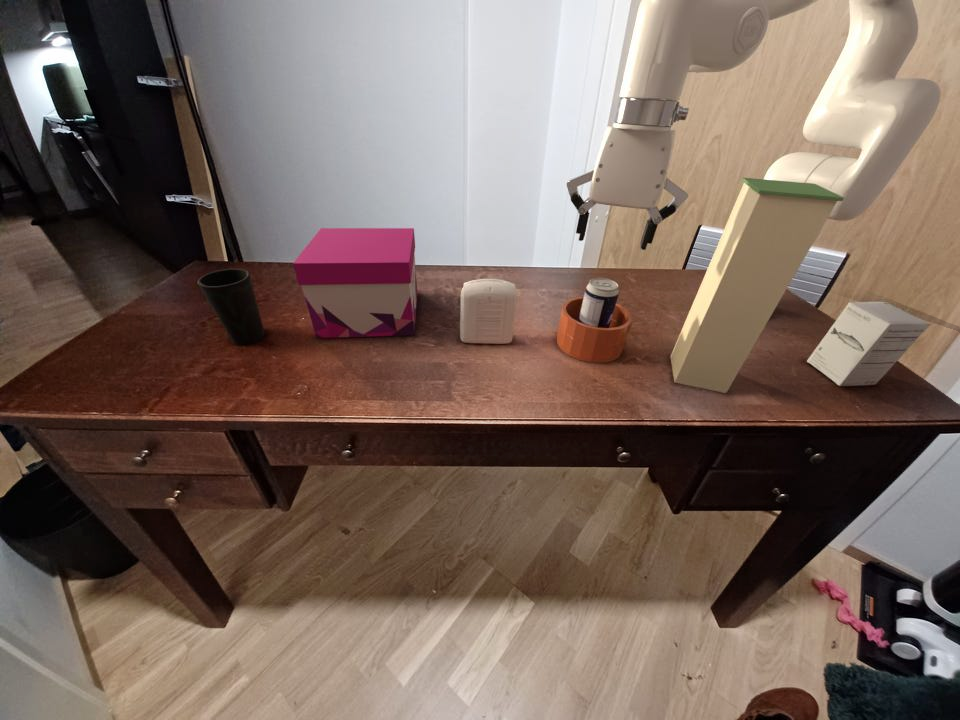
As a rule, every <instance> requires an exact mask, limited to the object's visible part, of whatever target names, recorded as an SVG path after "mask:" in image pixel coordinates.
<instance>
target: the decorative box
mask: <svg viewBox="0 0 960 720" xmlns="http://www.w3.org/2000/svg"><path fill="white" fill-rule="evenodd" d="M415 238H416V236H415V228H414V227H343V228H342V227H330V228H329V227H328V228H327V227H324V228H323V227H321V228H320V229H319V230H318V231H317V233H316V234H315V235H314V236H313V237H312V239H311V240H310V241H309V242H308V244H307V245H306V246H305V247H304V249H303V250H302V251H301V252H300V254H299V255H298V256H297V257H296V259H295V260H294V261H293V262H292V266H293V270H294V273H295V276H296V277H295V278H296V280H297V283H298V286H301V289H302V292H303V296H304V300H305V303H306V306H307V307H306V308H307V310H308V314H309V316H310V322H311V325H312V328H313V331H314V335H315V338H316V339H328V338H329V339H330V338H331V339H332V338H334V339H335V338H363V337H398V336H401V337H403V336H415V331H416V330H415V328H416V316H417V303H418V282H417V281H418V280H417V270H416V269H417V268H416V258H415V251H416V239H415Z"/></svg>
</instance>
